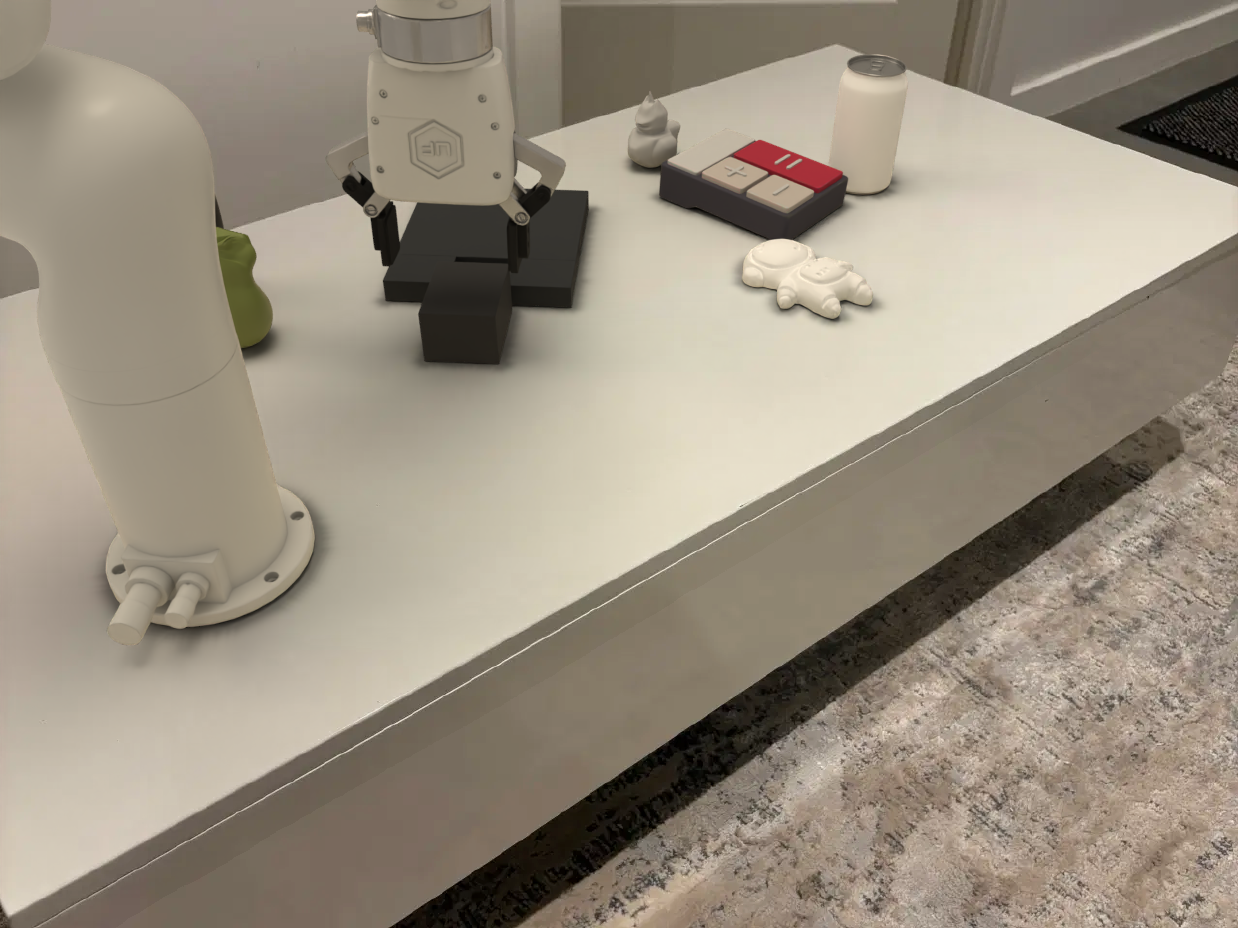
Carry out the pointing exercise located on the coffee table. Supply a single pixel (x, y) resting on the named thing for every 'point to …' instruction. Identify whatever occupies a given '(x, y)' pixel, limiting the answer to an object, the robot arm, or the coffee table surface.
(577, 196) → the base pad
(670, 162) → the calculator
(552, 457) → the coffee table surface
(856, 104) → the can
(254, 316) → the pear
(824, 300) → the astronaut figurine
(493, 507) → the coffee table surface
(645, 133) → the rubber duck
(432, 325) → the black block
